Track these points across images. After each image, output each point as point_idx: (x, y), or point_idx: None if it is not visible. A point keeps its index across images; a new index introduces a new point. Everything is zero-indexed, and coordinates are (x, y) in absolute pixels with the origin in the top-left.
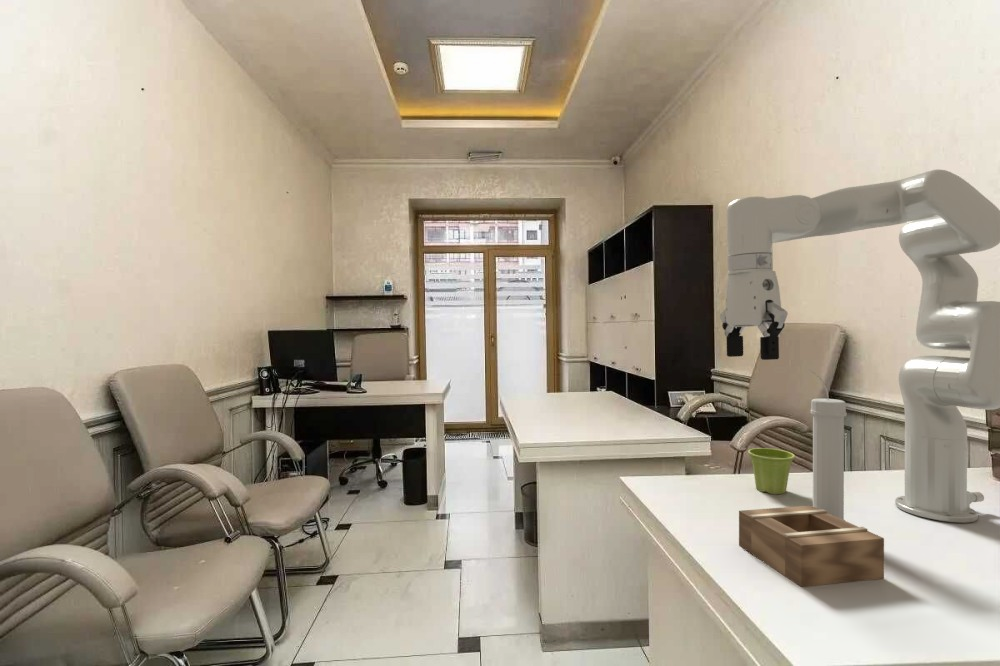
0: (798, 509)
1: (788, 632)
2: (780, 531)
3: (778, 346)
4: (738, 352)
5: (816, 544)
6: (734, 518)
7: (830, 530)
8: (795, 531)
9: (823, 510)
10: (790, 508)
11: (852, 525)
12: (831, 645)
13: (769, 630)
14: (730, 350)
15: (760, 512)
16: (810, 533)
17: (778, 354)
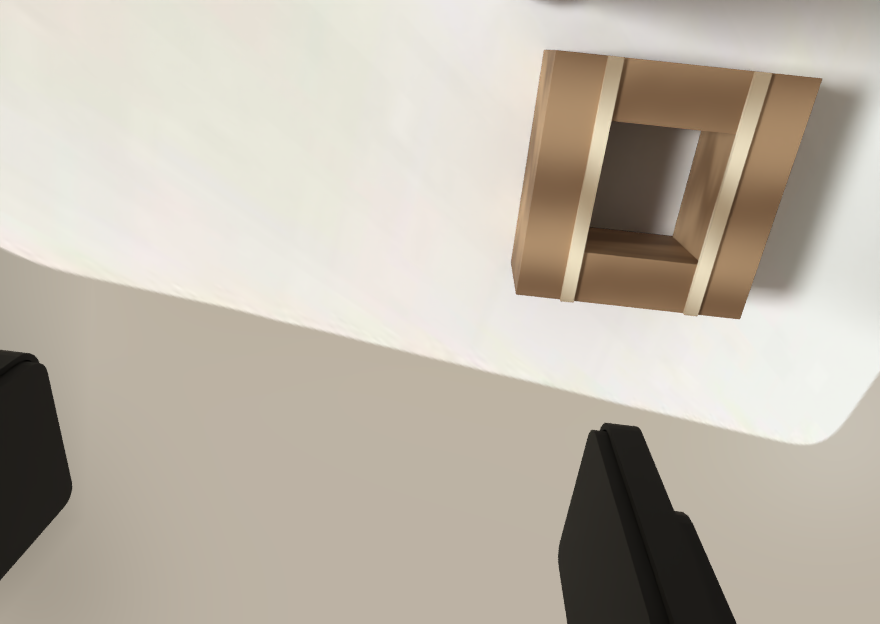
0: (568, 122)
1: (786, 411)
2: (663, 301)
3: (675, 524)
4: (27, 432)
5: (751, 281)
6: (360, 145)
7: (727, 188)
8: (679, 267)
9: (618, 65)
10: (553, 139)
11: (725, 78)
12: (841, 382)
13: (768, 431)
14: (30, 532)
15: (546, 249)
16: (715, 254)
17: (646, 454)
